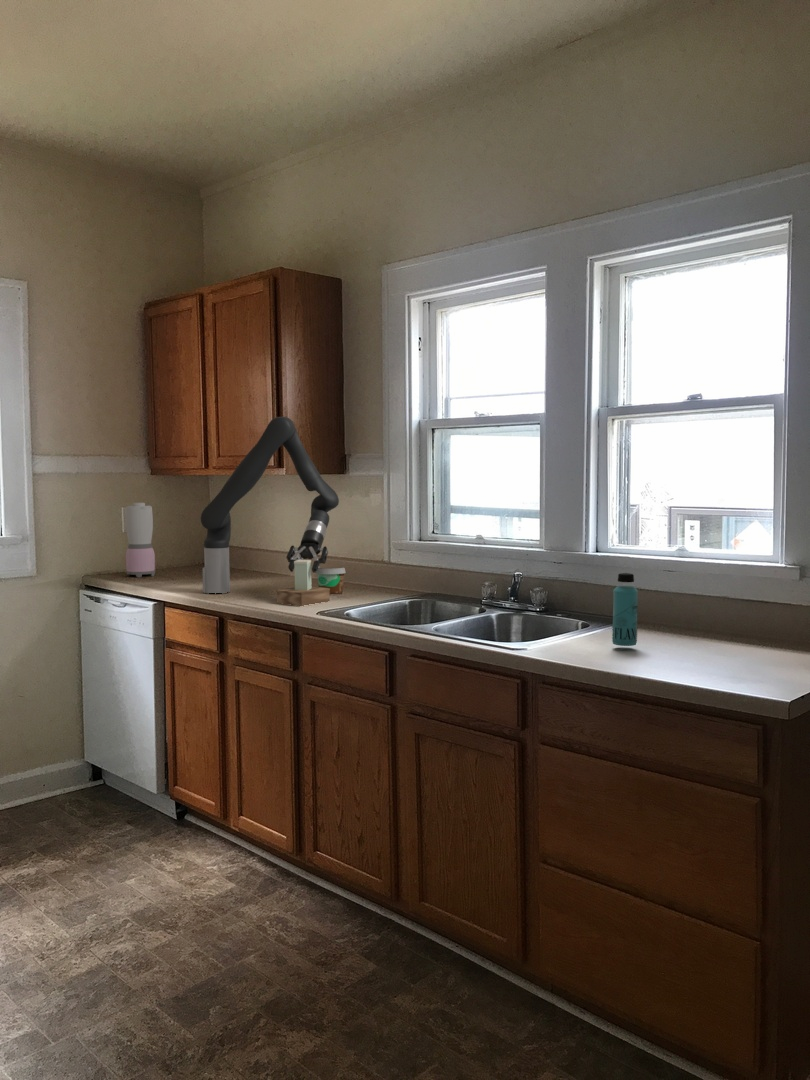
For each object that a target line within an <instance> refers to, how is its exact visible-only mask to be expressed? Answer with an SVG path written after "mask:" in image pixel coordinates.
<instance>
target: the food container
mask: <svg viewBox="0 0 810 1080" xmlns="http://www.w3.org/2000/svg"><path fill="white" fill-rule="evenodd" d="M315 573H316V575H317V584H318V585H317V587H321V588H330V594H339V595H343V594H342V593H343V592H344V591H343V590H344V579H345V574H346V573H347V572H346V569H345V567H338V568H335V567H333V568H331V567H329V568H323V567H320V566H319V567H318V570H317V571H316V572H315Z"/></svg>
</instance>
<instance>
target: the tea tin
mask: <svg viewBox="0 0 810 1080" xmlns="http://www.w3.org/2000/svg"><path fill="white" fill-rule="evenodd" d="M294 566H295V567H294V587H295V590H309V589H311V588H312V587H313V586H312V559H302V560H297V561H294Z"/></svg>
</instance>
